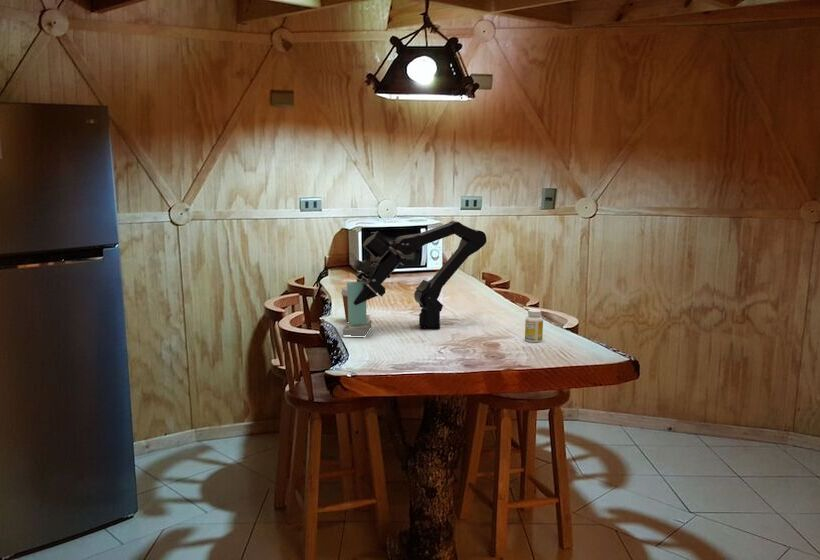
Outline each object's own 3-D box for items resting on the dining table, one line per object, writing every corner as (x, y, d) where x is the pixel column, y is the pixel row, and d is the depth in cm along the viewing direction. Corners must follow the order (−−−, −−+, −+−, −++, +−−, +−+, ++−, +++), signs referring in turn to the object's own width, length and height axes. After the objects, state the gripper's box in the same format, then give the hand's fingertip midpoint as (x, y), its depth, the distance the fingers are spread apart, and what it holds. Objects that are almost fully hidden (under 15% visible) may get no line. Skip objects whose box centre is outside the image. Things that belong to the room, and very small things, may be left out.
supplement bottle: (527, 343, 191) (528, 312, 190) (522, 338, 196) (523, 308, 195) (544, 342, 192) (545, 311, 190) (539, 338, 197) (540, 308, 195)
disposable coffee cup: (344, 325, 214) (343, 291, 212) (339, 319, 223) (338, 286, 221) (371, 324, 217) (370, 290, 215) (365, 318, 226) (365, 285, 224)
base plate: (372, 327, 211) (372, 314, 211) (365, 338, 198) (365, 324, 197) (350, 327, 212) (349, 314, 211) (342, 337, 198) (341, 323, 198)
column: (363, 320, 207) (362, 281, 204) (366, 323, 202) (365, 284, 200) (348, 321, 205) (347, 282, 203) (351, 324, 200) (350, 285, 198)
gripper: (360, 247, 210) (329, 281, 208) (374, 253, 192) (340, 291, 190) (383, 269, 213) (353, 303, 212) (399, 277, 196) (366, 314, 194)
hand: (352, 302), depth 202 cm, fingers closed on column, 5 cm apart
